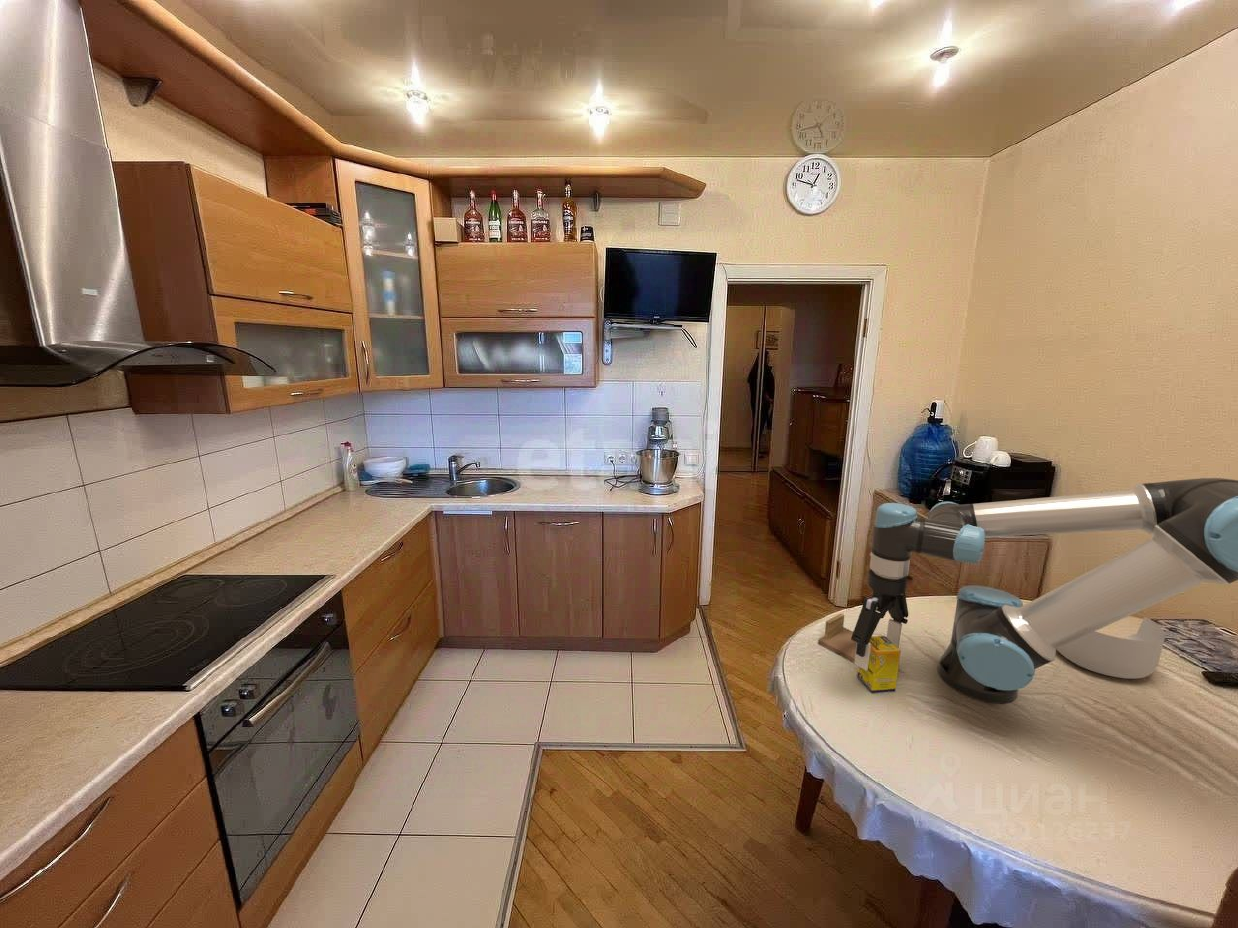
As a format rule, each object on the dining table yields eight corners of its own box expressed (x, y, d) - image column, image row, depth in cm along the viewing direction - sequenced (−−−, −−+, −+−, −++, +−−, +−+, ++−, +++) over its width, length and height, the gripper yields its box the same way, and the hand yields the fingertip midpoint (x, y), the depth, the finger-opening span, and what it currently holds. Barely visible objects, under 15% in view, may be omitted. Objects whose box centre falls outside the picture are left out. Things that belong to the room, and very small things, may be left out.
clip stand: (896, 656, 122) (899, 635, 121) (873, 672, 116) (875, 650, 115) (841, 630, 134) (843, 610, 133) (818, 643, 128) (819, 622, 127)
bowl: (1064, 675, 114) (1073, 630, 111) (1031, 632, 131) (1038, 593, 129) (1177, 695, 107) (1190, 648, 104) (1127, 647, 124) (1137, 606, 121)
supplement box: (856, 676, 115) (860, 636, 112) (880, 675, 115) (884, 634, 113) (871, 693, 109) (875, 651, 107) (896, 691, 109) (901, 649, 107)
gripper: (899, 553, 116) (888, 630, 120) (840, 580, 102) (830, 666, 107) (932, 564, 110) (920, 645, 114) (874, 594, 96) (863, 685, 101)
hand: (876, 656), depth 111 cm, fingers open, 13 cm apart
